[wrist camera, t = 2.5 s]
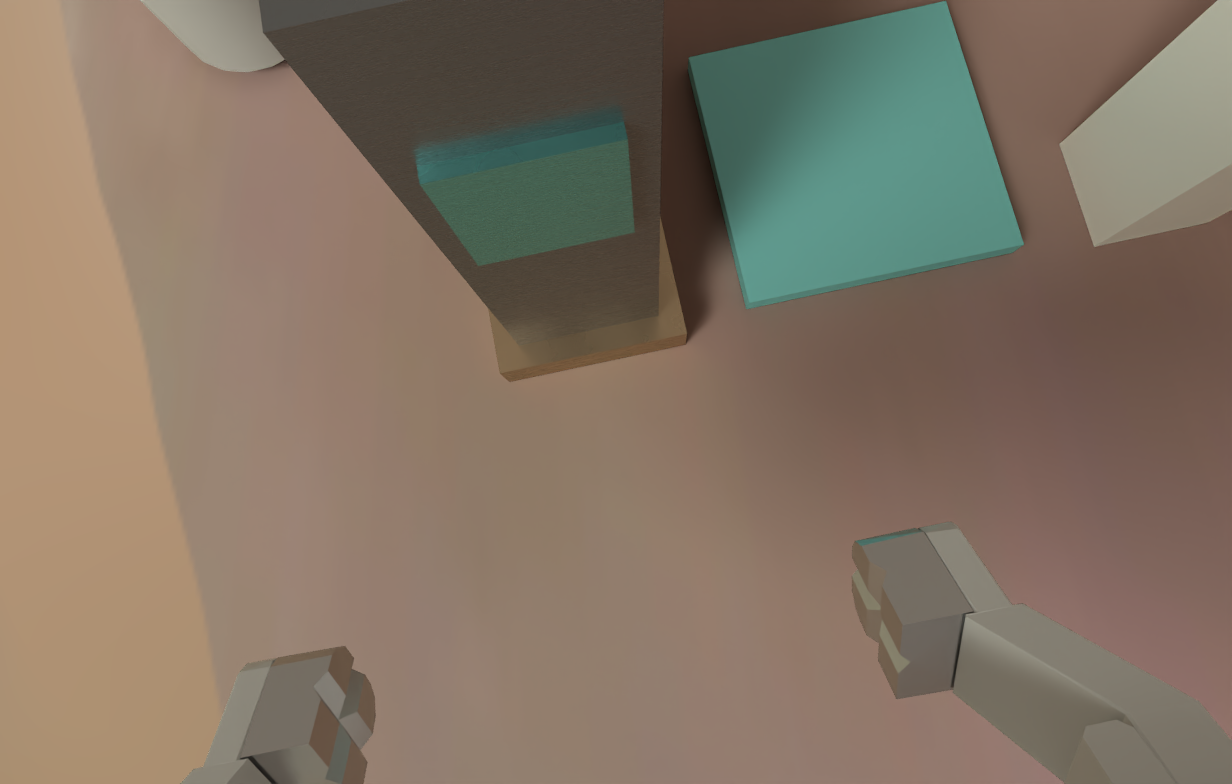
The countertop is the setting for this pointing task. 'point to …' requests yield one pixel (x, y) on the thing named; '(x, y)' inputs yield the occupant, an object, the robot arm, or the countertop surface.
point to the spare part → (1161, 140)
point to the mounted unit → (513, 155)
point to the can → (219, 31)
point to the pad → (851, 155)
